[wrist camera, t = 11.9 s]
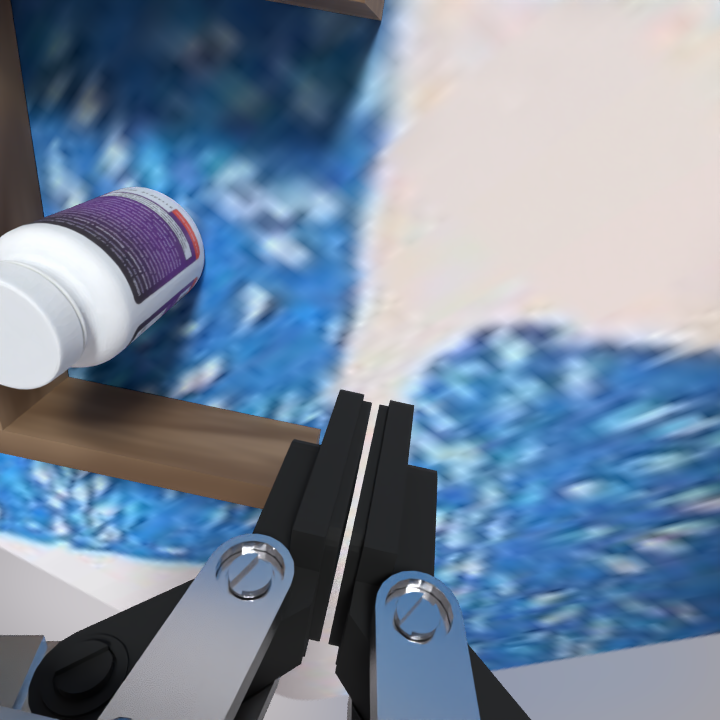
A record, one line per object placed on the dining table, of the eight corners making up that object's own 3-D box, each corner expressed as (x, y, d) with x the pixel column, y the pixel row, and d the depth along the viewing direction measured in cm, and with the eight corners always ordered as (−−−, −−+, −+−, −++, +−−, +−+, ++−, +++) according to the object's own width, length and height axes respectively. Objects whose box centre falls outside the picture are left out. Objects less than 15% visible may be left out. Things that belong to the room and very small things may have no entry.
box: (-45, -106, 18) (-193, -162, 14) (389, -31, 18) (373, -65, 14) (46, 393, 29) (-21, 448, 25) (317, 450, 29) (296, 516, 24)
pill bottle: (94, 171, 23) (-108, 229, 14) (211, 201, 23) (77, 277, 14) (99, 282, 25) (-68, 385, 17) (203, 309, 25) (88, 426, 17)
